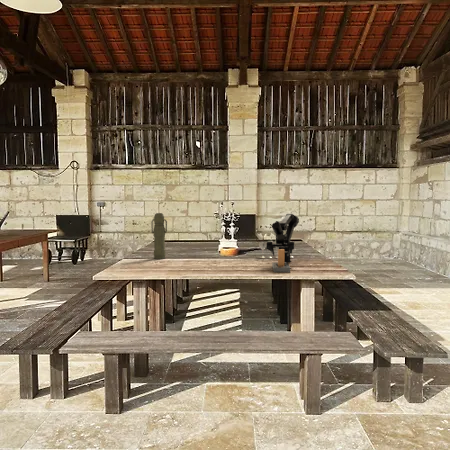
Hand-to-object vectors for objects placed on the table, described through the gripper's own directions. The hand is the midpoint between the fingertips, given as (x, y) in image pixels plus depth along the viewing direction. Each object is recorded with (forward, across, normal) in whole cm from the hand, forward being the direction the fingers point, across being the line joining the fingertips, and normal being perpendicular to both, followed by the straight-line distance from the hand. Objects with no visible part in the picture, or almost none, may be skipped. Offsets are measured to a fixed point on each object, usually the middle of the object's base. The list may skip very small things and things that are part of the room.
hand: (280, 255), depth 268 cm
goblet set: (-27, 0, +39) cm, 47 cm away
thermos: (-20, -90, +31) cm, 98 cm away
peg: (+12, 0, -1) cm, 12 cm away
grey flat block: (+12, -1, -1) cm, 12 cm away
